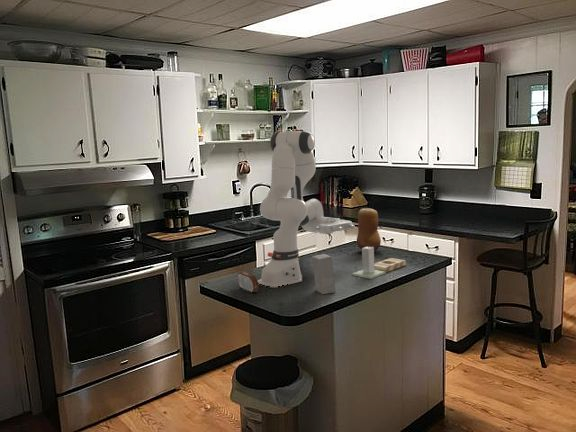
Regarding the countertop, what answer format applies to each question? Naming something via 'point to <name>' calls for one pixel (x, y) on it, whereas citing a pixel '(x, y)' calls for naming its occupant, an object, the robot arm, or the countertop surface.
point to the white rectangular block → (368, 260)
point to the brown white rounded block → (248, 281)
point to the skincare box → (323, 273)
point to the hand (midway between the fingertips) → (347, 228)
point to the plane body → (389, 264)
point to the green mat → (370, 276)
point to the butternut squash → (368, 229)
